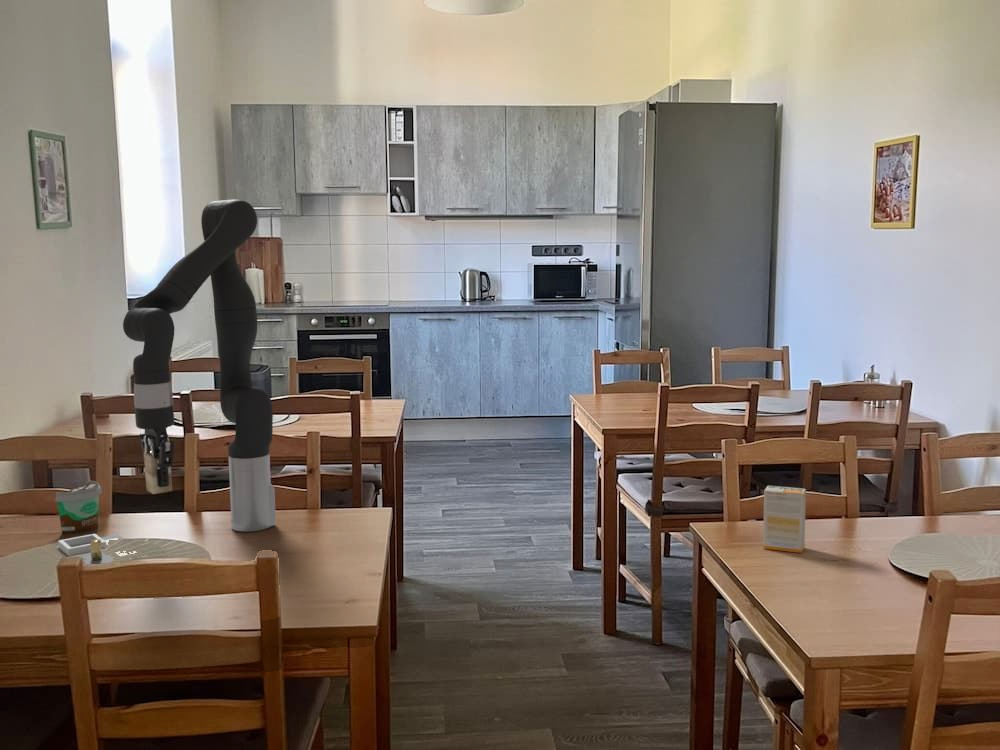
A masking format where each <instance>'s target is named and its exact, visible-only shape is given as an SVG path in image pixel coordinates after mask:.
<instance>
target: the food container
mask: <svg viewBox="0 0 1000 750" xmlns="http://www.w3.org/2000/svg"><path fill="white" fill-rule="evenodd" d="M102 492H103V491H102V488H101V485H100V484H99V482H98V481H94V480H87V484H85V485H83V486H80V487H79V486H78V487H73V488H72V489H69V490H68V491H66V492H65V491H64V492H63V491H62V492H60V491H57V492H55V502H57V509H58V515H59V521H60V529H61V534H63V535H70V534H82V533H86V532H90V531H92V530H95V529H97V528H98V527H99V504H100V503H99V500H100V499H99V498H100V495H101V494H102Z"/></svg>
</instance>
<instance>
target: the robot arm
mask: <svg viewBox="0 0 1000 750" xmlns="http://www.w3.org/2000/svg"><path fill="white" fill-rule="evenodd" d="M257 224H258V216H257V212H256V209H255V208H254V207H253V205H252V204H251V203H249V202H248V201H246V200H244V199H223V200H214V201H210V202H208V203H207V204H206V205H205V206H204V208H203V209H202V213H201V229H202V236H203V240H204V241H203V242H202V243H201V244H199V245H198V246H197V247H196V248H194V249H192V250H191V251H190V252H189V253H188V254H186V255H184V256H183V257H182V258H180V259H179V260H178V261H177V262H176V263H175V264H174V265H173V266H172V267H171V268H170V269H169V270H168V271H167V273H166V274H164V276H163V277H162V278H161V280H160V281H159V282H158V284H157V285H156V286H155V288H153V289H151V291H149V292H148V293H147V294H145V295H144V296H142V298H141V299H139V300H137V302H135V303H134V304H133V305H132V306H130V309H129V310H128V311H127V312H126V314H125V316H124V319H123V322H122V328H123V332H124V334H125V336H126V337H127V338H129V339H130V340H132V341H134V342H140V343H141V342H143V350H142V353H141V354H138V355H136V356H135V357H134V359H133V360H132V370H133V383H134V384H133V385H134V386H133V403H134V416H135V427H136V428H138V429H140V430H144V432H143V433H140V434H139V436H138V437H139V441H140V445H141V446H140V447H141V452H142V458H143V460H144V453H151V455H152V456H153V459H155V464H156V469H157V470H156V471H157V485H158V487H166V486H168V485H169V475H168V468H169V467H171V468H172V467H173V465H174V464H173V463H174V448H175V442H174V440H170V438H169V435H168V432H167V429H168V427H170V428H171V427H172V426H174V424H175V413H174V398H173V397H174V396H173V390H172V383H171V371H170V359H171V354H172V350H173V344H174V340H175V323H174V321H173V318H172V316H171V314H173V313H177V312H181V310H182V311H183V309H184V308H185V307H187V305H188V304H189V303H190V301H191V300H192V298H193V297H195V294H196V293H197V292H198V290H200V288H201V287H202V286H203V284H204V283H205V282H206V281H207V280H208V278H209V277H210V281H211V289H212V297H213V312H214V321H215V328H216V337H217V350H218V356H219V366H220V367H219V368H220V369H219V370H220V371H219V372H220V373H219V374H220V376H219V377H220V380H219V385H220V390H219V392H220V393H219V400H220V402H219V403H220V409H221V413H222V414H223V416H224V417H225V419H227V420H228V421H229V422H230V423H232V424H235V430H234V431H235V435H234V440H232V441H230V442H229V444H228V446H227V451H228V471H229V474H228V475H229V477H228V478H229V495H230V496H229V497H230V516H231V517H230V523H231V529H232V530H234V531H236V532H247V533H248V532H259V531H263V530H267V529H269V528H271V527H272V526H273V527H274V526H276V523H277V522H276V521H277V520H276V497H275V493H276V492H275V486H274V485H273V484H272V483H271V481H272V480H271V459H270V455H271V454H270V447H271V444H272V441H273V421H274V419H273V413H274V412H273V403H272V402H273V401H272V400H271V397H270V395H269V393H268V392H267V391H266V390H264V389H262V388H260V387H256V386H254V385H253V379H252V373H251V358H252V353H253V349H254V345H255V341H256V338H257V334H258V313H257V305H256V299H255V296H254V294H253V291H252V289H251V287H250V285H249V283H248V282H247V280H246V278H245V277H244V275H243V273H242V271H241V269H240V266H239V264H238V259H237V256H236V250H237V249H239V248H240V247H241V246H242V245H243V244H244V243H245V242H246V241H247V240H249V239H250V237H251V236H252V235H253V234H254V233H255V231H256V229H257ZM156 453H159V455H158V454H156ZM164 459H165V462H163V460H164Z"/></svg>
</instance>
